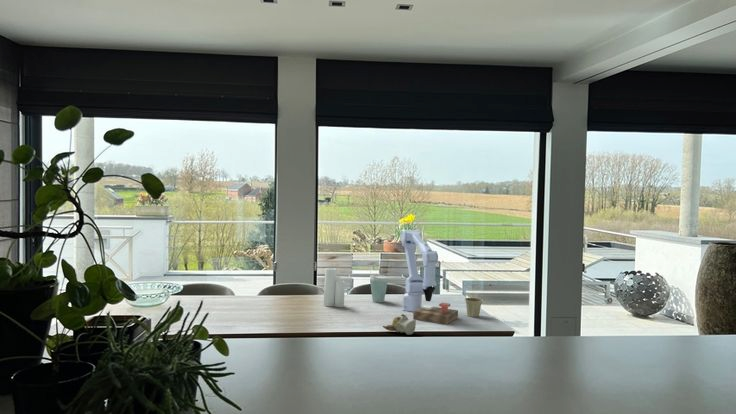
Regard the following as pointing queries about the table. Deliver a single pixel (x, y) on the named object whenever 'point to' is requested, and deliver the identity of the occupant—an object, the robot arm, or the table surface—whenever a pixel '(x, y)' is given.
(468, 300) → the flower pot
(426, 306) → the cream button
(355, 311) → the table surface
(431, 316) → the panel
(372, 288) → the disposable coffee cup
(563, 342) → the table surface
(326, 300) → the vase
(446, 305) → the red button
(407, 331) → the ceramic sculpture
